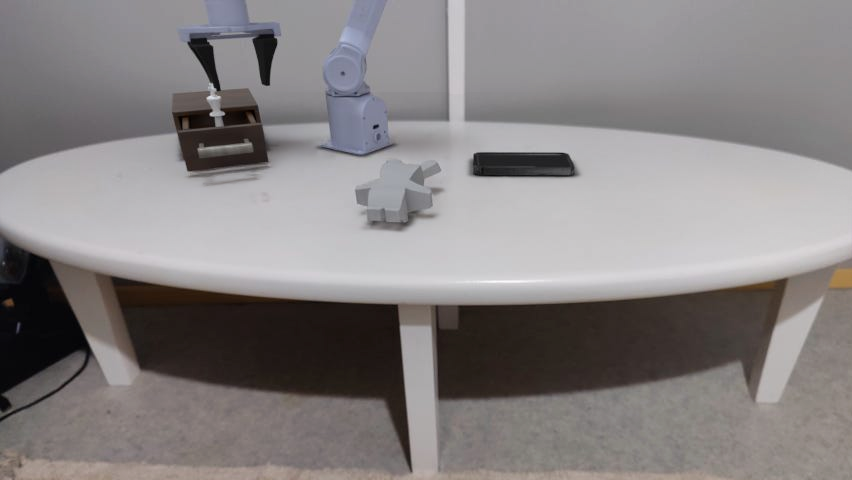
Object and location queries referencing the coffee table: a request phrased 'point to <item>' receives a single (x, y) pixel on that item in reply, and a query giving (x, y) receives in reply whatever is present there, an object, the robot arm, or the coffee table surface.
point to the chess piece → (215, 106)
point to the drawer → (222, 141)
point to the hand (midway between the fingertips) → (242, 87)
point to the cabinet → (199, 105)
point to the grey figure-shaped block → (397, 190)
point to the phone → (522, 163)
